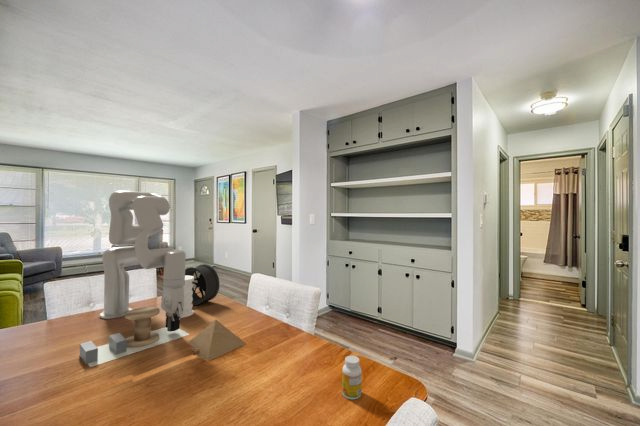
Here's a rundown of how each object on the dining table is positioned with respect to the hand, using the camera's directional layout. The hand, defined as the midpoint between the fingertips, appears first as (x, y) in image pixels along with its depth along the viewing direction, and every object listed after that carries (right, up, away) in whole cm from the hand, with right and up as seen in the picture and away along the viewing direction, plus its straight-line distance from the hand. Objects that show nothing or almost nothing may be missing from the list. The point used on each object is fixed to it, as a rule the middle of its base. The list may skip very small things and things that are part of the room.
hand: (172, 327), depth 111 cm
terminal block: (-15, -2, -16) cm, 22 cm away
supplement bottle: (+67, -5, -32) cm, 75 cm away
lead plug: (0, -1, 0) cm, 1 cm away
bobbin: (-8, -2, -6) cm, 10 cm away
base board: (-8, -3, -8) cm, 12 cm away
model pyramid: (+19, -5, -6) cm, 20 cm away
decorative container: (-7, -3, +22) cm, 23 cm away
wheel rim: (-7, -3, +41) cm, 42 cm away
